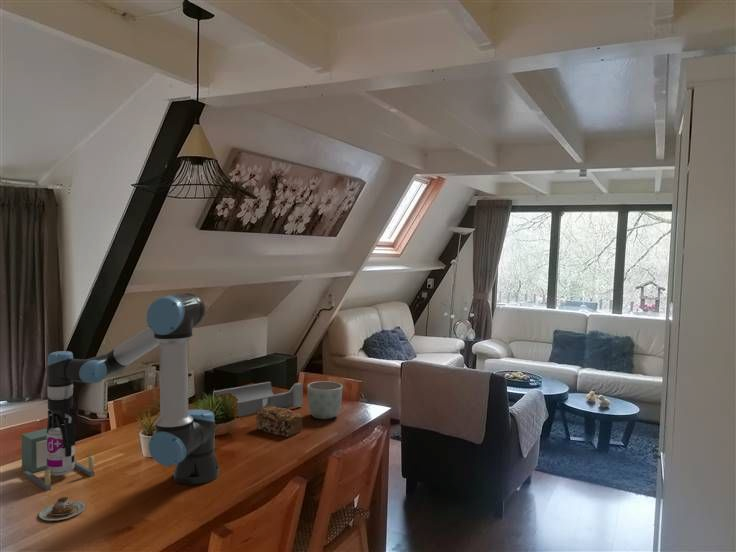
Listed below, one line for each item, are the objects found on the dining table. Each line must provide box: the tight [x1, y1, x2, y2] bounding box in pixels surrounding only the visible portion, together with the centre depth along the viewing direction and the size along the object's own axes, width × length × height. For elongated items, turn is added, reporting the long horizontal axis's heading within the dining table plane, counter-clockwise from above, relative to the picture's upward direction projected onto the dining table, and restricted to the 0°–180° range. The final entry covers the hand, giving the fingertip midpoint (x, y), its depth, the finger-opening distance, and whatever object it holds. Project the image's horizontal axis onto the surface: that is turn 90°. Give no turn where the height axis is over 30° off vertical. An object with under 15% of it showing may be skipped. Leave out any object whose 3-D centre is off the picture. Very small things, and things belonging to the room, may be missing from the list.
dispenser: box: [21, 427, 95, 492], centre depth 189 cm, size 26×16×12 cm, turn 54°
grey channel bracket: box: [212, 381, 304, 418], centre depth 274 cm, size 33×32×13 cm
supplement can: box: [47, 427, 75, 476], centre depth 186 cm, size 8×8×15 cm
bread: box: [255, 406, 303, 437], centre depth 239 cm, size 19×11×10 cm, turn 59°
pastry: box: [38, 496, 85, 522], centre depth 162 cm, size 12×12×5 cm
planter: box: [306, 380, 343, 420], centre depth 260 cm, size 17×17×15 cm
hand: (60, 461), depth 186 cm, fingers closed on supplement can, 8 cm apart
